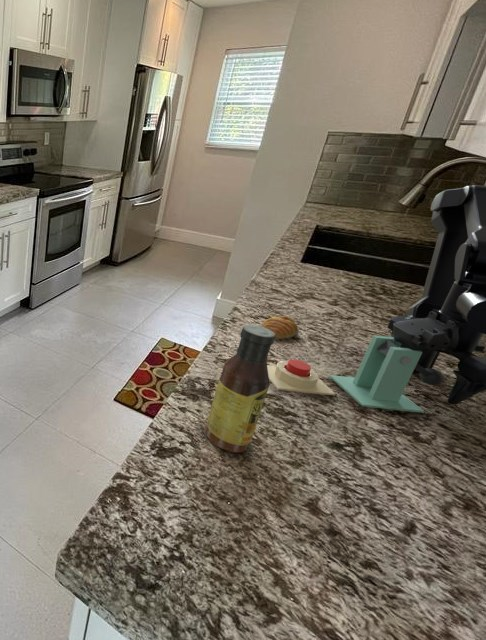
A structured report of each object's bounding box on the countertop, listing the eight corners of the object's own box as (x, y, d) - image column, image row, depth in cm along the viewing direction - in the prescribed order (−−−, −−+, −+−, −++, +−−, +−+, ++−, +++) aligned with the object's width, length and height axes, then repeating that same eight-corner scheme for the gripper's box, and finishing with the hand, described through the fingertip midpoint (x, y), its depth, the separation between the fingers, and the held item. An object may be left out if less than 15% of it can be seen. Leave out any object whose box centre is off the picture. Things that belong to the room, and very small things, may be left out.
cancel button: (301, 367, 81) (303, 360, 81) (312, 378, 78) (315, 370, 77) (281, 365, 82) (284, 358, 81) (292, 376, 78) (295, 368, 78)
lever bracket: (382, 385, 81) (406, 333, 77) (422, 416, 73) (451, 360, 69) (327, 379, 82) (348, 328, 78) (360, 410, 74) (386, 354, 70)
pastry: (285, 346, 94) (290, 331, 93) (252, 334, 99) (257, 320, 98) (298, 334, 100) (303, 320, 98) (266, 323, 104) (270, 310, 103)
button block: (307, 373, 84) (312, 361, 83) (333, 399, 77) (339, 385, 76) (255, 368, 85) (259, 356, 84) (276, 393, 78) (281, 380, 77)
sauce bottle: (247, 461, 62) (287, 348, 55) (202, 444, 65) (234, 334, 58) (248, 435, 67) (284, 328, 60) (205, 420, 70) (235, 316, 63)
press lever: (422, 381, 77) (437, 370, 76) (437, 391, 74) (452, 380, 73) (373, 349, 76) (387, 337, 75) (386, 358, 73) (401, 346, 72)
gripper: (373, 286, 79) (344, 355, 85) (467, 334, 62) (423, 416, 68) (437, 291, 78) (403, 360, 84) (551, 341, 61) (499, 425, 67)
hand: (427, 387), depth 76 cm, fingers open, 9 cm apart
